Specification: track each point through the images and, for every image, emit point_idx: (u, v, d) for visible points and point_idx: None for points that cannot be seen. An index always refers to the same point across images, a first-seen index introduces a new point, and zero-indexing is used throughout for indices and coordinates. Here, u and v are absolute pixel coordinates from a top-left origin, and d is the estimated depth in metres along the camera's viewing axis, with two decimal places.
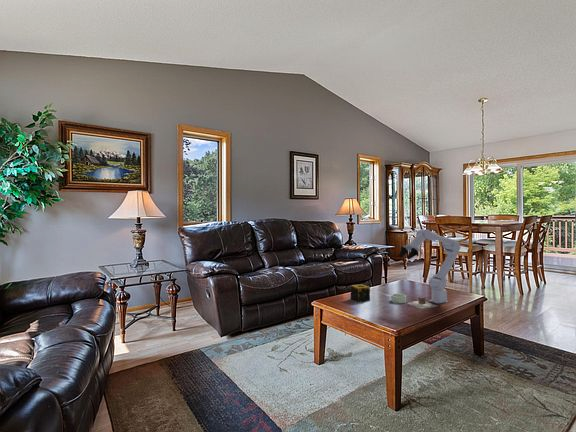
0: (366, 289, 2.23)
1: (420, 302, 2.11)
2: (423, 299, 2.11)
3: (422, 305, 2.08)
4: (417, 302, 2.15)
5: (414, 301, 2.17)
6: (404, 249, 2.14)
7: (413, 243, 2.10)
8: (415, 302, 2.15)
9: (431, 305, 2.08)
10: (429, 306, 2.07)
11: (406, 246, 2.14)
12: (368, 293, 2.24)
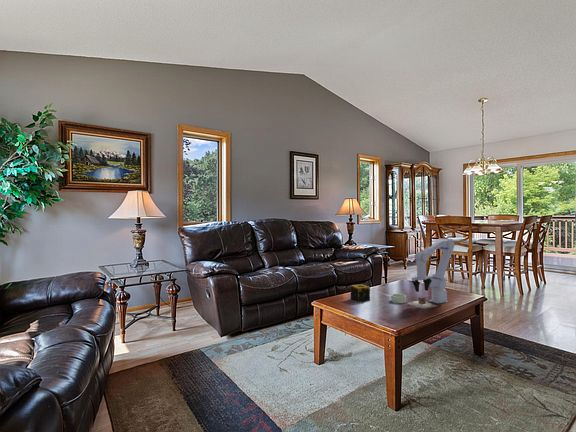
0: (366, 289, 2.23)
1: (420, 302, 2.11)
2: (423, 299, 2.11)
3: (422, 305, 2.08)
4: (417, 302, 2.15)
5: (414, 301, 2.17)
6: None
7: None
8: (415, 302, 2.15)
9: (431, 305, 2.08)
10: (429, 306, 2.07)
11: (419, 279, 2.09)
12: (368, 293, 2.24)
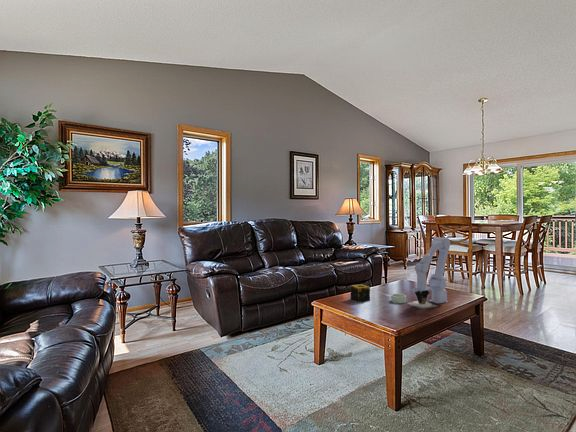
0: (366, 289, 2.23)
1: None
2: (423, 299, 2.11)
3: (422, 305, 2.08)
4: (417, 302, 2.15)
5: (414, 301, 2.17)
6: None
7: None
8: (415, 302, 2.15)
9: (431, 305, 2.08)
10: (429, 306, 2.07)
11: None
12: (368, 293, 2.24)
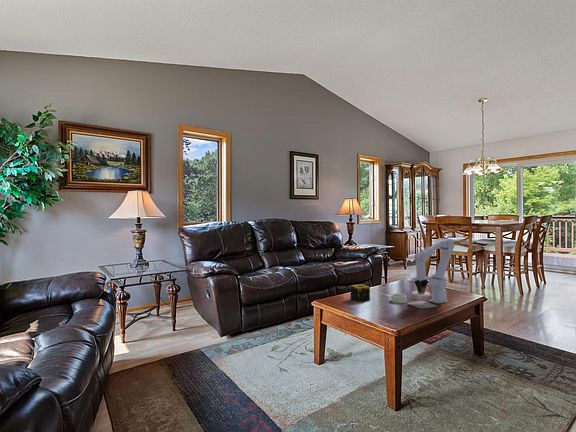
0: (366, 289, 2.23)
1: (419, 292, 2.11)
2: (422, 289, 2.11)
3: (421, 294, 2.08)
4: (416, 292, 2.15)
5: (413, 291, 2.17)
6: None
7: (425, 275, 2.10)
8: (414, 292, 2.15)
9: (430, 294, 2.08)
10: (428, 295, 2.07)
11: (418, 279, 2.10)
12: (368, 293, 2.24)
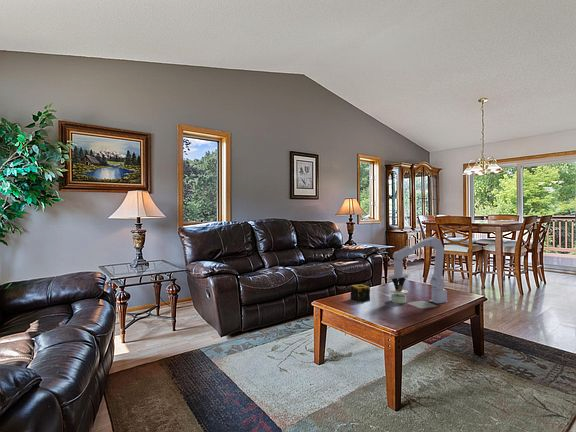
0: (366, 289, 2.23)
1: (397, 289, 2.19)
2: (399, 286, 2.19)
3: (398, 292, 2.16)
4: (394, 290, 2.23)
5: None
6: None
7: (402, 273, 2.19)
8: (392, 290, 2.23)
9: (407, 292, 2.16)
10: (405, 293, 2.15)
11: (395, 277, 2.18)
12: (368, 293, 2.24)
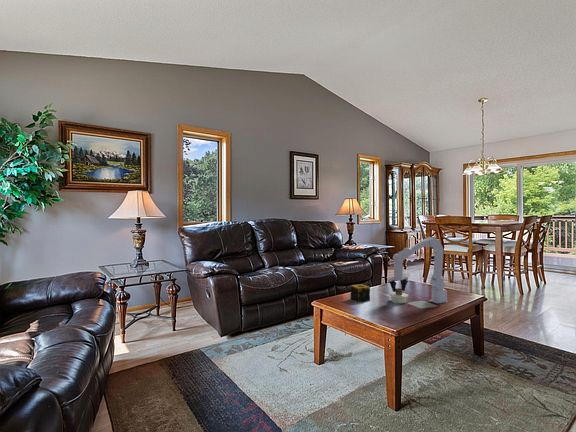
0: (366, 289, 2.23)
1: (397, 293, 2.19)
2: (400, 290, 2.19)
3: (398, 296, 2.16)
4: (394, 293, 2.23)
5: None
6: None
7: (402, 275, 2.19)
8: (392, 293, 2.23)
9: (407, 296, 2.16)
10: (405, 297, 2.15)
11: (395, 279, 2.18)
12: (368, 293, 2.24)
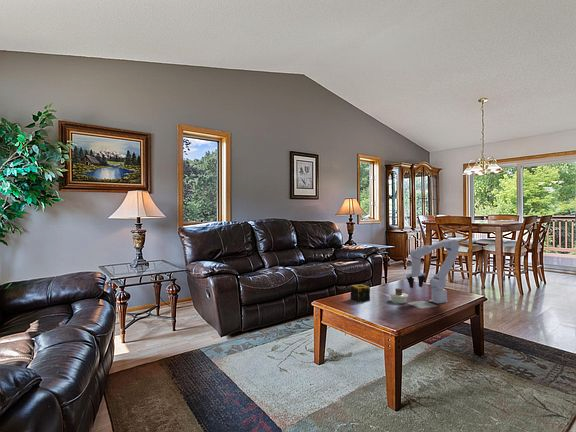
0: (366, 289, 2.23)
1: (397, 293, 2.19)
2: (400, 290, 2.19)
3: (398, 296, 2.16)
4: (394, 293, 2.23)
5: None
6: None
7: (420, 271, 2.16)
8: (392, 293, 2.23)
9: (407, 296, 2.16)
10: (405, 297, 2.15)
11: (413, 275, 2.15)
12: (368, 293, 2.24)
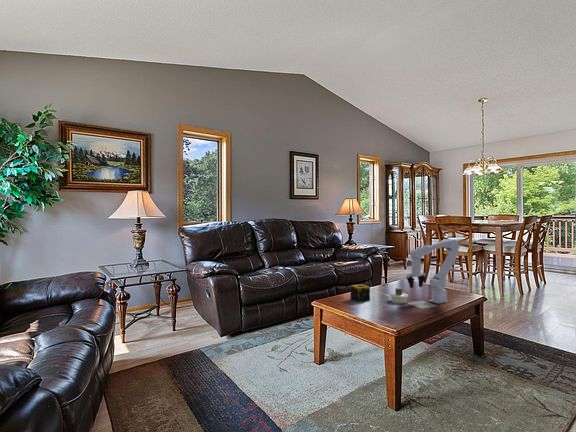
0: (366, 289, 2.23)
1: (397, 293, 2.19)
2: (400, 290, 2.19)
3: (398, 296, 2.16)
4: (394, 293, 2.23)
5: None
6: None
7: (420, 271, 2.16)
8: (392, 293, 2.23)
9: (407, 296, 2.16)
10: (405, 297, 2.15)
11: (413, 275, 2.15)
12: (368, 293, 2.24)
